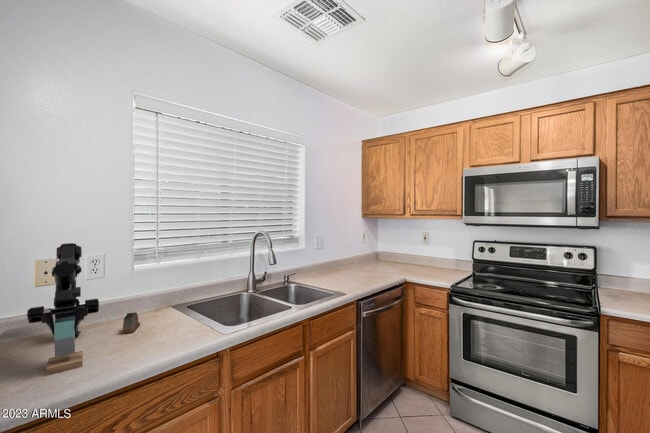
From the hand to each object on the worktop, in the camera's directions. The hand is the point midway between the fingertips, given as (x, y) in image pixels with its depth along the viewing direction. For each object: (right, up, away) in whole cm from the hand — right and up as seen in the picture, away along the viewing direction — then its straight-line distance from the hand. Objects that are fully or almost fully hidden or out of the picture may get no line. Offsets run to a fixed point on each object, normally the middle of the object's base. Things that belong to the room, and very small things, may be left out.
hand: (64, 332), depth 102 cm
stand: (-1, -11, +1) cm, 11 cm away
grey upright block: (+2, -11, +32) cm, 34 cm away
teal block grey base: (-1, -7, +1) cm, 7 cm away
